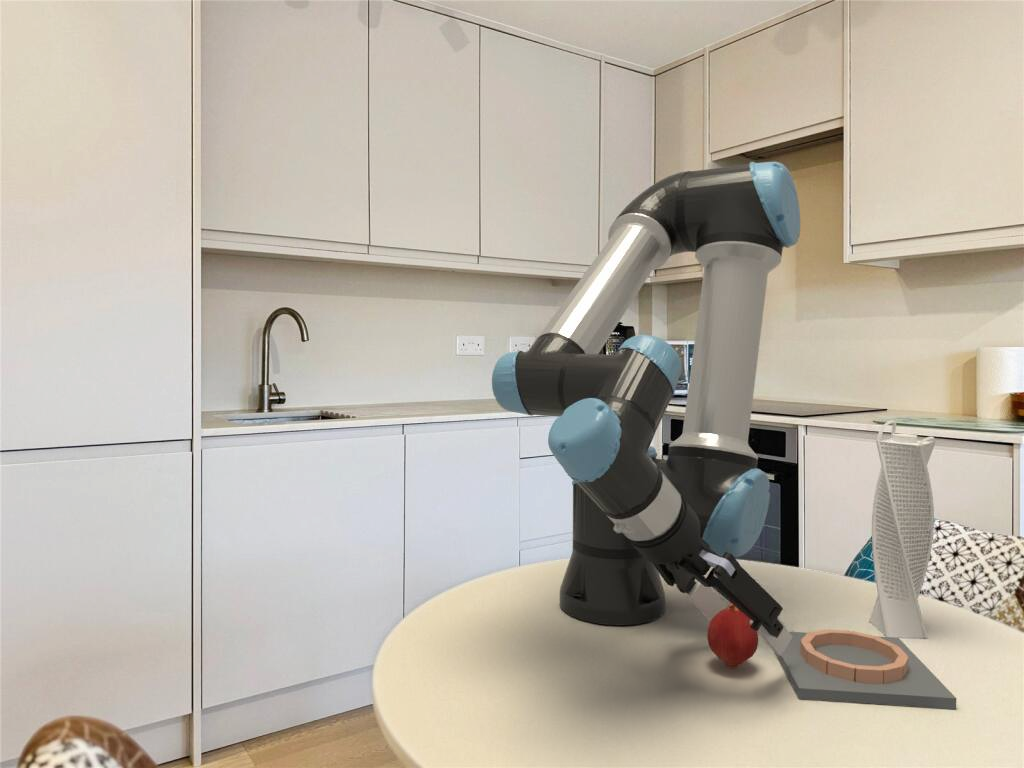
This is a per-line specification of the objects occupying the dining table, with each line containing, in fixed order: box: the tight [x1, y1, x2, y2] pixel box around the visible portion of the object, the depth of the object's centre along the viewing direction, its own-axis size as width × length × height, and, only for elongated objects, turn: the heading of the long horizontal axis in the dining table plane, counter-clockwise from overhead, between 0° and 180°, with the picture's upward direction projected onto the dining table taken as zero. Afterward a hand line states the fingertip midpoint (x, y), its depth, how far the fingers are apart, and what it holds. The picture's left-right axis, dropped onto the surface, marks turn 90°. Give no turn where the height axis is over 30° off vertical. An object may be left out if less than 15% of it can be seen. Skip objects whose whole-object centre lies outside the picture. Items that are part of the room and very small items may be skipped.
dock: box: [774, 628, 957, 710], centre depth 88 cm, size 16×16×3 cm
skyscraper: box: [868, 419, 936, 639], centre depth 100 cm, size 8×8×28 cm
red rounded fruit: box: [706, 602, 759, 669], centre depth 89 cm, size 6×6×8 cm
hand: (751, 630), depth 90 cm, fingers open, 9 cm apart
